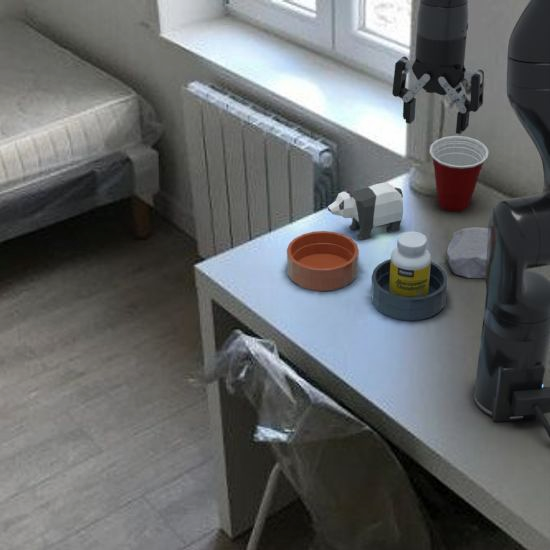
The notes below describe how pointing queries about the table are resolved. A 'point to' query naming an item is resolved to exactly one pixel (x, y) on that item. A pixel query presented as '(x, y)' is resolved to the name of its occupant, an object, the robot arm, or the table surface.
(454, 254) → the stone block
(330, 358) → the table surface
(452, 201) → the plastic cup
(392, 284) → the pill bottle
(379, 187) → the giant panda
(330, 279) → the terracotta bowl
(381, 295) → the metal bowl
